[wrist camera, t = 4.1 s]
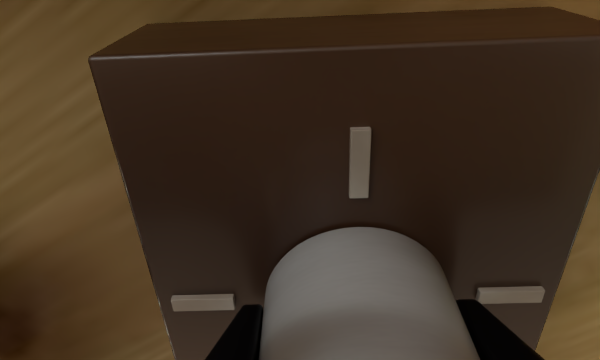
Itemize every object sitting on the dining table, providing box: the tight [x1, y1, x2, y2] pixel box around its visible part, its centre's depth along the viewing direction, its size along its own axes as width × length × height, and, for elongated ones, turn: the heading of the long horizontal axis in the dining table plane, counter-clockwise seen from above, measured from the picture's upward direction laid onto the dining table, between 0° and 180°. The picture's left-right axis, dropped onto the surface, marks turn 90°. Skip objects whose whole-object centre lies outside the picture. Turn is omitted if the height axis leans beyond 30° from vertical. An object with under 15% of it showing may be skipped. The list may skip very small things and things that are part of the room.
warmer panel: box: [88, 7, 600, 360], centre depth 11 cm, size 11×9×3 cm
